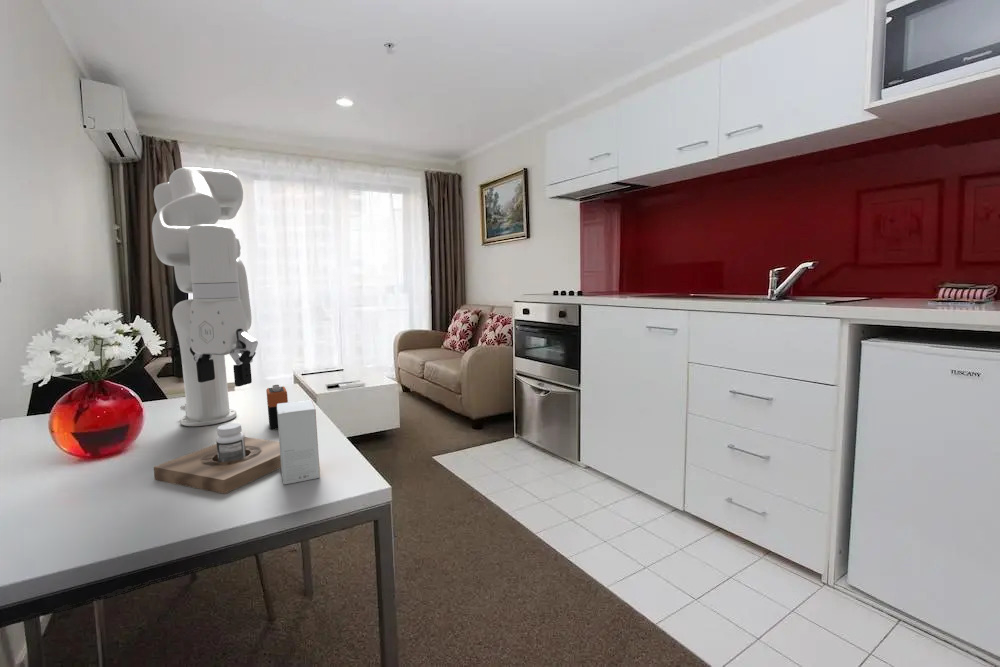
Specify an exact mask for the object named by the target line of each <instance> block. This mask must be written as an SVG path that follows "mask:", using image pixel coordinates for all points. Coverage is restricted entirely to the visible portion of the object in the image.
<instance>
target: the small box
mask: <svg viewBox="0 0 1000 667" xmlns="http://www.w3.org/2000/svg"><path fill="white" fill-rule="evenodd" d="M316 410H317V409H316V407H315V405H314V403H313V401H312V399H306V400H299V401H298V400H297V401H288V403H279V404H277V416H278V429H277V430H278V442H279V445H280V458H281V468H280V469H281V478H282V479H281V480H282V484H283V486H284V485H290V484H295V483H302V482H305V481H312V480H316V479H320V478H321V469H320V468H321V467H320V458H319V456H320V455H319V442H318V441H319V440H318V427H317V426H318V425H317V411H316Z"/></svg>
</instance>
